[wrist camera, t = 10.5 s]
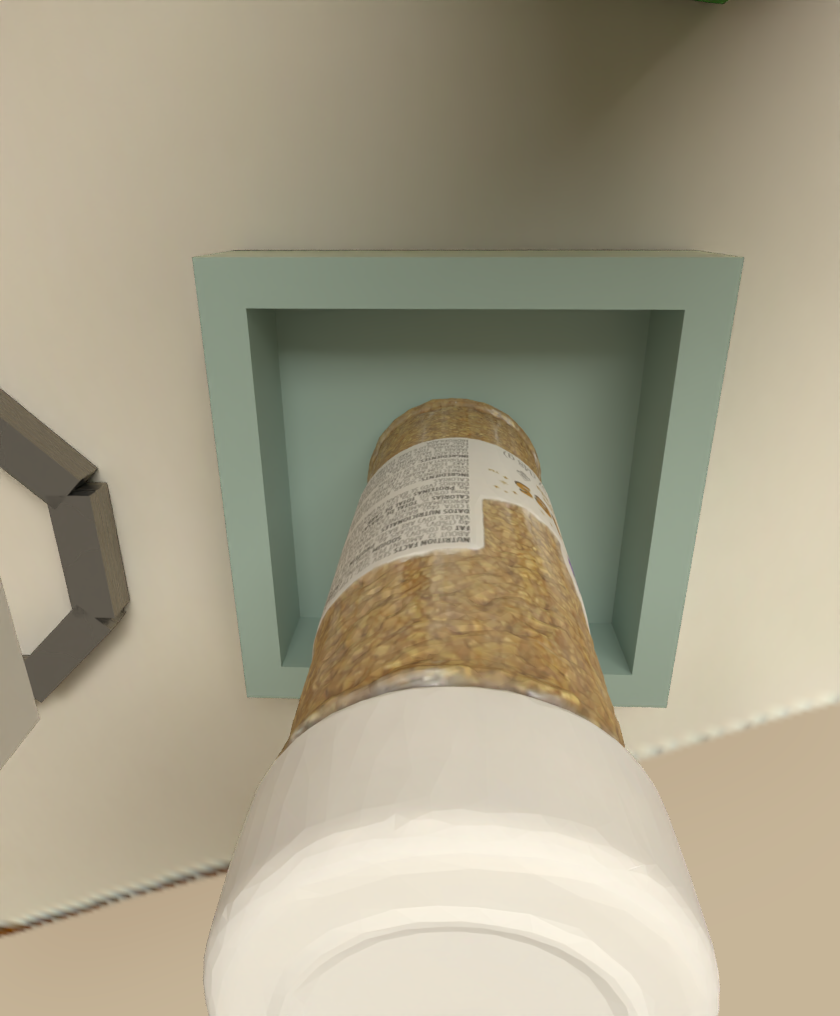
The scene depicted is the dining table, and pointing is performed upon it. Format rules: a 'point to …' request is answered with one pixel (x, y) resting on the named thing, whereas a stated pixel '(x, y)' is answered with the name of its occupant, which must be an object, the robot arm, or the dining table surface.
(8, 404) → the socket ring
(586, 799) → the white and tan cylinder
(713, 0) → the green curved holder
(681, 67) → the dining table surface
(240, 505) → the bin
